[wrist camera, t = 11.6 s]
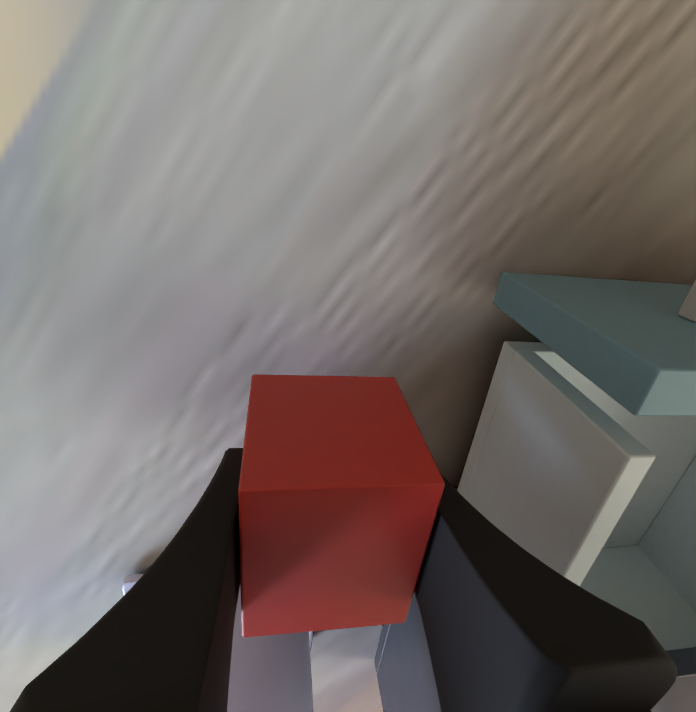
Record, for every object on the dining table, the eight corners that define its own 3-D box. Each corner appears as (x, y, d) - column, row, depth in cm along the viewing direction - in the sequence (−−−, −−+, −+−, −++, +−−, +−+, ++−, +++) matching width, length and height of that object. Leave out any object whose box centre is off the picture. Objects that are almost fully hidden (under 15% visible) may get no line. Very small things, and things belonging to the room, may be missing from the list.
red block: (252, 500, 14) (241, 639, 10) (251, 373, 12) (238, 490, 8) (372, 496, 15) (405, 623, 11) (394, 375, 13) (446, 484, 9)
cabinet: (417, 488, 20) (499, 700, 12) (661, 481, 22) (851, 653, 15) (374, 660, 27) (409, 860, 20) (562, 640, 30) (658, 810, 22)
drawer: (553, 90, 12) (830, 45, 6) (889, 144, 14) (1335, 150, 8) (421, 549, 21) (477, 713, 15) (638, 536, 23) (762, 673, 17)
